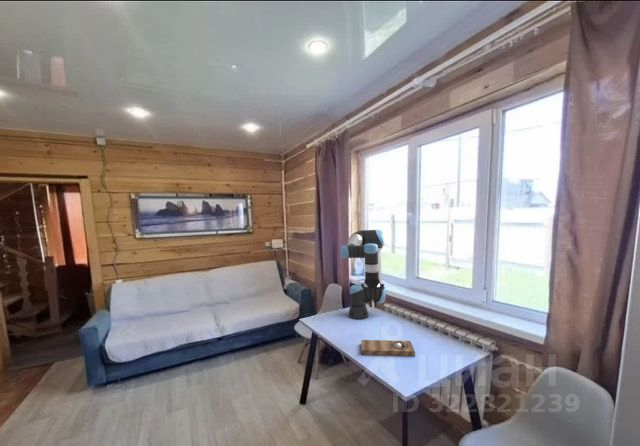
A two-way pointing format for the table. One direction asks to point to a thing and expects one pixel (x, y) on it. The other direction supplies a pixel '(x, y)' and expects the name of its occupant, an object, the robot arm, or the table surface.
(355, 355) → the table surface
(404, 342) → the board
